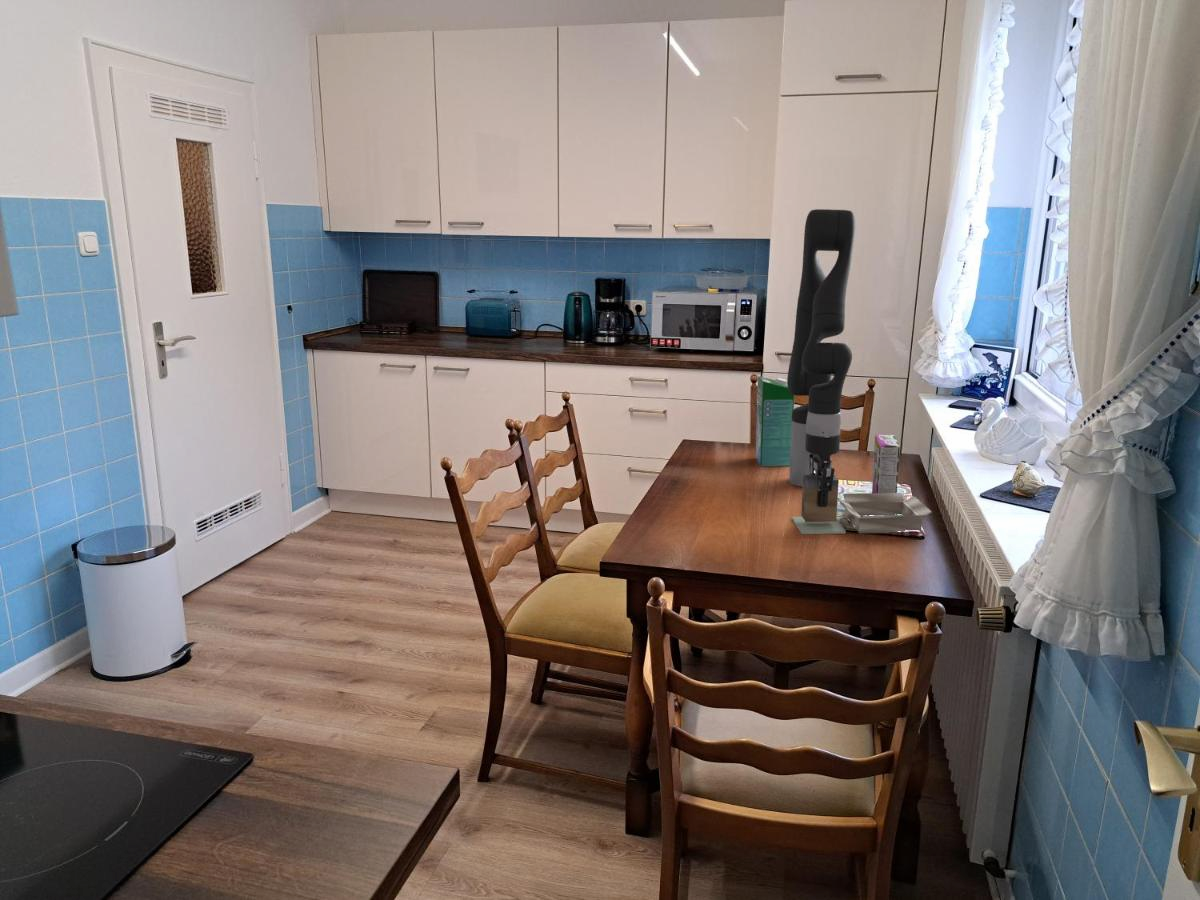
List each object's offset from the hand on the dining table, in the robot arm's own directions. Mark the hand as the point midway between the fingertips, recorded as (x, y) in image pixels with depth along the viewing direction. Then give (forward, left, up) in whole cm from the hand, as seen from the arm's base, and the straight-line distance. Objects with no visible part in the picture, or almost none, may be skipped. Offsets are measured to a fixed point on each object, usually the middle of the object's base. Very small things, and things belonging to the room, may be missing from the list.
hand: (819, 502), depth 197 cm
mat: (0, 0, -6) cm, 6 cm away
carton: (-1, +15, -6) cm, 16 cm away
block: (0, 0, -4) cm, 4 cm away
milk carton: (-55, 0, -6) cm, 55 cm away
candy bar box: (-16, +20, -6) cm, 26 cm away
